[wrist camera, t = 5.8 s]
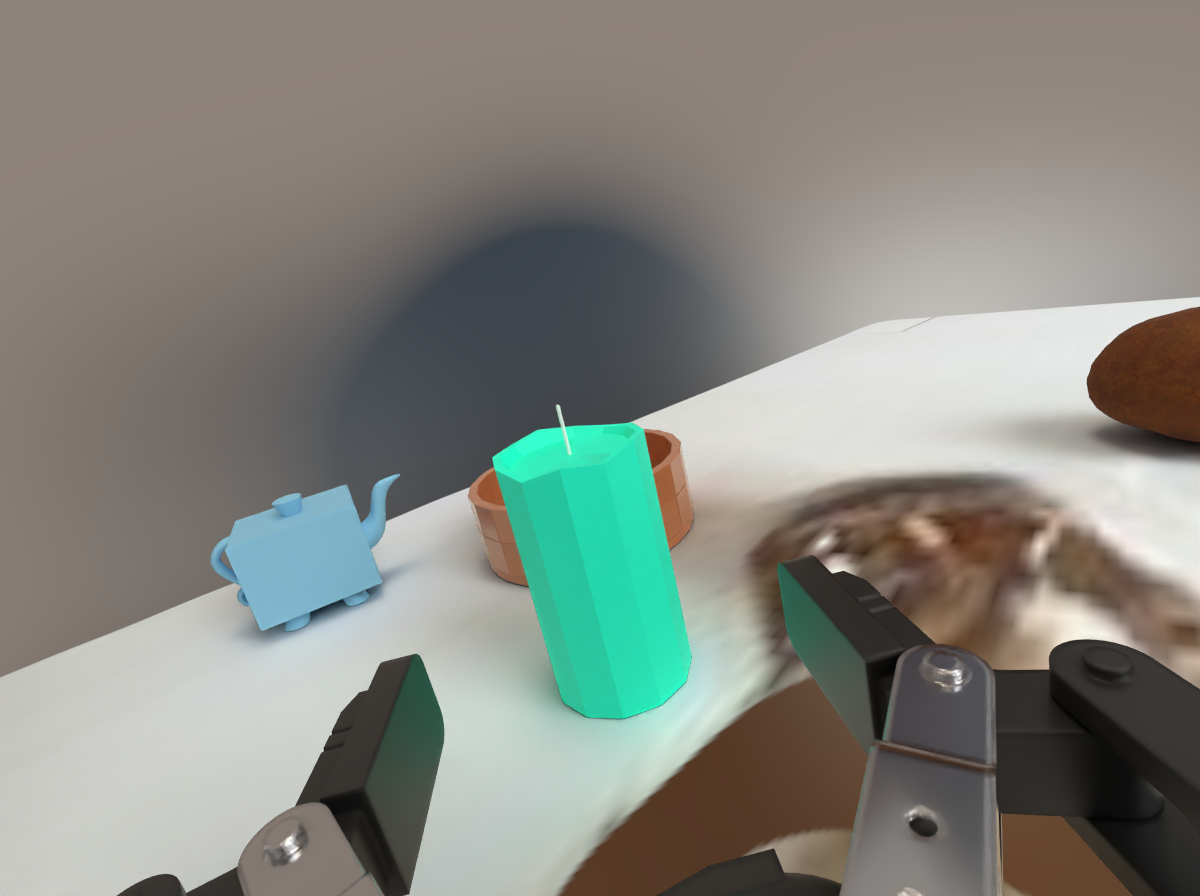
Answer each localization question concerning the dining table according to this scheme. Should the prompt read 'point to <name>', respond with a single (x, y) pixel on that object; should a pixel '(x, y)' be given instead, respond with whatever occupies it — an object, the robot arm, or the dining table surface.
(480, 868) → the dining table surface
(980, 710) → the robot arm
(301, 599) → the teapot
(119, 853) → the dining table surface
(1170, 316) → the potato
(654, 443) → the pot
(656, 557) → the candle
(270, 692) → the dining table surface
